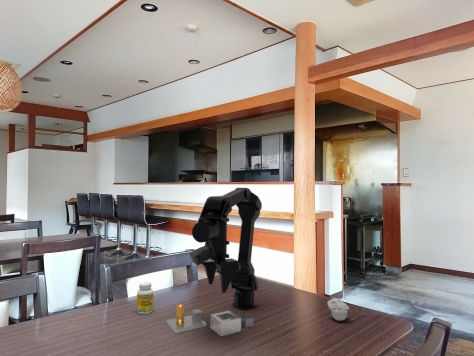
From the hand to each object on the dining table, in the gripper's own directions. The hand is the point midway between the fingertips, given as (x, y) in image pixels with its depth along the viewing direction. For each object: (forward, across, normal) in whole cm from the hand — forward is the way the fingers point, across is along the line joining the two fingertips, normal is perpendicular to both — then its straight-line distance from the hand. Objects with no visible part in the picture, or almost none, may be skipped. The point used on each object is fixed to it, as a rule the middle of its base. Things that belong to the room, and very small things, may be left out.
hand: (216, 288), depth 104 cm
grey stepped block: (+12, +2, +8) cm, 15 cm away
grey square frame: (+12, +2, +2) cm, 13 cm away
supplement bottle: (+12, -23, -16) cm, 31 cm away
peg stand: (+12, -6, -7) cm, 16 cm away
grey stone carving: (+13, +13, +38) cm, 42 cm away
